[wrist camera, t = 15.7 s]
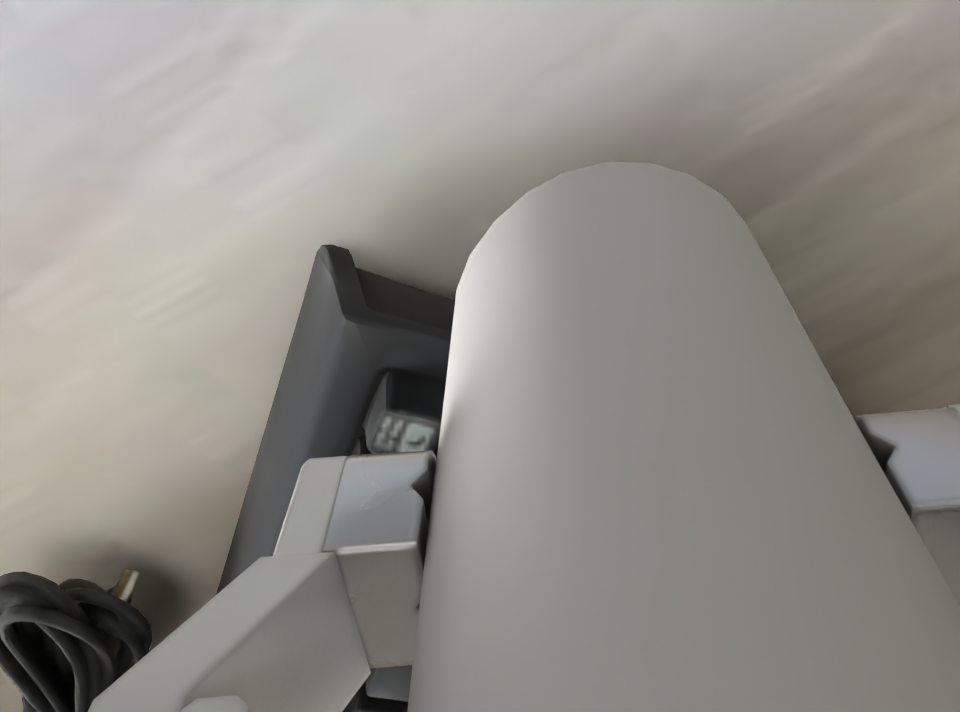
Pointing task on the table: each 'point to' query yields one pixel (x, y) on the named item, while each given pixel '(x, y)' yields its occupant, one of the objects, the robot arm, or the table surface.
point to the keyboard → (261, 479)
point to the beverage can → (659, 481)
